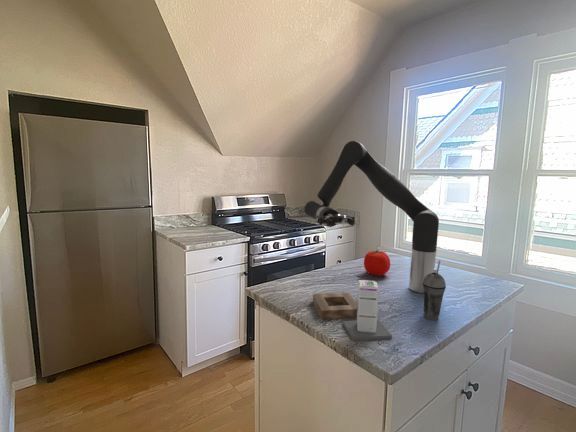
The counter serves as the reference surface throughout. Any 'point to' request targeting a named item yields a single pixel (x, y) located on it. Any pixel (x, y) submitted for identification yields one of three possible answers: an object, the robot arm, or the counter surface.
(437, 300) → the beverage cup
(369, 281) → the syrup box
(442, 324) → the counter surface
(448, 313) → the counter surface
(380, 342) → the counter surface
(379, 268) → the tomato
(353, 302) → the walnut socket stand
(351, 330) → the charcoal rubber mat
